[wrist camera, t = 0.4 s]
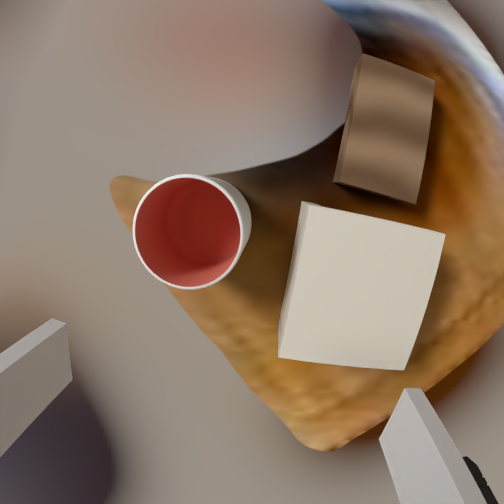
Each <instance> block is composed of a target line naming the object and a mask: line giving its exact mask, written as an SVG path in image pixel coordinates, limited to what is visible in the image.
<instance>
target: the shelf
mask: <svg viewBox="0 0 504 504" xmlns="http://www.w3.org/2000/svg"><path fill="white" fill-rule="evenodd" d="M444 239H445V234H443V233H440V232H436V231H432V230H428V229H424V228H420V227H415V226H411V225H407V224H403V223H398V222H394V221H389V220H385V219H380V218H376V217H371V216H366V215H362V214H357V213H352V212H347V211H342V210H337V209H332V208H327V207H323V206H320V205H318V204H315V203H310V202H304V201H302V203H301V209H300V215H299V220H298V226H297V231H296V237H295V242H294V247H293V253H292V258H291V263H290V268H289V273H288V278H287V284H286V289H285V293H284V298H283V303H282V308H281V313H280V318H279V323H278V357H280V358H286V359H293V360H301V361H308V362H316V363H324V364H333V365H342V366H353V367H363V368H376V369H389V370H404V369H405V367H406V364H407V362H408V359H409V356H410V354H411V351H412V348H413V346H414V343H415V340H416V337H417V335H418V332H419V329H420V326H421V323H422V320H423V317H424V314H425V311H426V307H427V304H428V301H429V297H430V294H431V291H432V287H433V284H434V280H435V276H436V272H437V269H438V265H439V261H440V256H441V252H442V248H443V243H444Z"/></svg>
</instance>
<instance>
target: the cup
mask: <svg viewBox="0 0 504 504" xmlns="http://www.w3.org/2000/svg"><path fill="white" fill-rule="evenodd" d="M251 225H252V220H251V213H250V209H249V206H248V204H247V202H246V200H245V198H244V197H243V195H242V194H241V193H240V192H239V191H238V190H237V189H236V188H235V187H234V186H233V185H231V184H230V183H228V182H226V181H224V180H221V179H218V178H213V177H207V176H200V175H194V174H180V175H175V176H171V177H168V178H166V179H164V180H162V181H160V182H158V183H157V184H155V185H154V186H153V187H152V188H150V189H149V190H148V192H147V193H146V194H145V195H144V196H143V198H142V199H141V201H140V203H139V205H138V207H137V209H136V212H135V216H134V220H133V240H134V245H135V248H136V251H137V254H138V256H139V258H140V260H141V262H142V263H143V265H144V266H145V267H146V269H147V270H148V271H149V272H150V273H151V274H152V275H153V276H155V277H156V278H157V279H158V280H160V281H161V282H163V283H165V284H167V285H169V286H172V287H175V288H179V289H186V290H194V289H201V288H205V287H208V286H211V285H213V284H215V283H217V282H219V281H220V280H222V279H223V278H224V277H225V276H226V275H228V274H229V272H230V271H231V270H232V269H233V268H234V266H235V265H236V263H237V261H238V259H239V257H240V255H241V253H242V251H243V249H244V247H245V245H246V243H247V241H248V239H249V236H250V232H251Z"/></svg>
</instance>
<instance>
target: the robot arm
mask: <svg viewBox="0 0 504 504" xmlns="http://www.w3.org/2000/svg"><path fill="white" fill-rule="evenodd" d="M70 381H72V372H71V364H70V357H69V347H68V336H67V325H66V323H63V322H60V321H58V320H55V319H51V320H49V321H47V322H46V323H44V324H43V325H42V326H40V327H39V328H37V329H36V330H34V331H33V332H31V333H30V334H28V335H27V336H25V337H24V338H22V339H21V340H20V341H18V342H17V343H16V344H14V345H12V346H11V347H10V348H8V349H7V350H5V351H4V352H2V353H1V354H0V457H1V456H2V455H3V453H4V452H5V451H6V450H7V449H8V448H9V447H10V446H11V445H12V443H13V442H14V441H15V440H16V439H17V438H18V437H19V436H20V435H21V434H22V432H23V431H24V430H25V429H26V428H27V427H28V426H29V425H30V424H31V423H32V422H33V421H34V420H35V418H36V417H37V416H38V415H39V414H40V413H41V412H42V411H43V410H44V409H45V408H46V407H47V405H49V404H50V402H51V401H52V400H53V399H54V398H55V397H56V396H57V395H58V394H59V393H60V392H61V391H62V390H63V389H64V388H65V387H66V385H68V384H69V383H70ZM379 441H380V444H381V447H382V449H383V452H384V455H385V458H386V461H387V464H388V467H389V470H390V473H391V476H392V479H393V482H394V485H395V489H396V492H397V495H398V498H399V501H400V504H498V502H497V500H496V498H495V496H494V495H493V493H492V491H491V489H490V487H489V486H487V482H486V480H485V478H484V477H482V473H481V472H480V470H479V468H478V466H477V465H476V464H475V463H474V462H473V461H471V459H469V458H468V457H467V456H466V457H462V456H461V455H460V453H459V451H458V449H457V448H456V446H455V444H454V442H453V441H452V439H451V437H450V436H449V434H448V432H447V430H446V429H445V427H444V425H443V424H442V422H441V421H440V419H439V417H438V415H437V414H436V412H435V411H434V409H433V407H432V406H431V404H430V402H429V401H428V399H427V398H426V396H425V394H424V393H423V391H422V390H421V389H418V388H404V390H403V393H402V395H401V397H400V399H399V401H398V403H397V405H396V407H395V409H394V411H393V413H392V415H391V417H390V419H389V421H388V423H387V425H386V427H385V429H384V431H383V433H382V434H381V436H380V438H379Z"/></svg>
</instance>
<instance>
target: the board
mask: <svg viewBox="0 0 504 504" xmlns="http://www.w3.org/2000/svg"><path fill="white" fill-rule="evenodd" d="M434 85H435V81H434V80H432V79H430V78H428V77H425V76H423V75H421V74H418V73H416V72H413V71H411V70H408V69H406V68H403V67H401V66H398V65H395V64H393V63H390V62H387V61H384V60H381V59H378V58H375V57H372V56H369V55H366V54H362V56H361V57H360V59H359V60H358V62H357V63H356V65H355V67H354V73H353V79H352V85H351V91H350V97H349V102H348V108H347V113H346V118H345V126H344V132H343V137H342V142H341V147H340V151H339V156H338V161H337V166H336V170H335V175H334V179H333V182H334V183H338V184H341V185H345V186H349V187H352V188H356V189H360V190H363V191H367V192H370V193H374V194H377V195H380V196H384V197H387V198H390V199H394V200H397V201H400V202H403V203H410V204H416V202H417V197H418V193H419V188H420V183H421V178H422V173H423V167H424V162H425V156H426V150H427V144H428V137H429V130H430V123H431V115H432V106H433V96H434Z"/></svg>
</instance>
